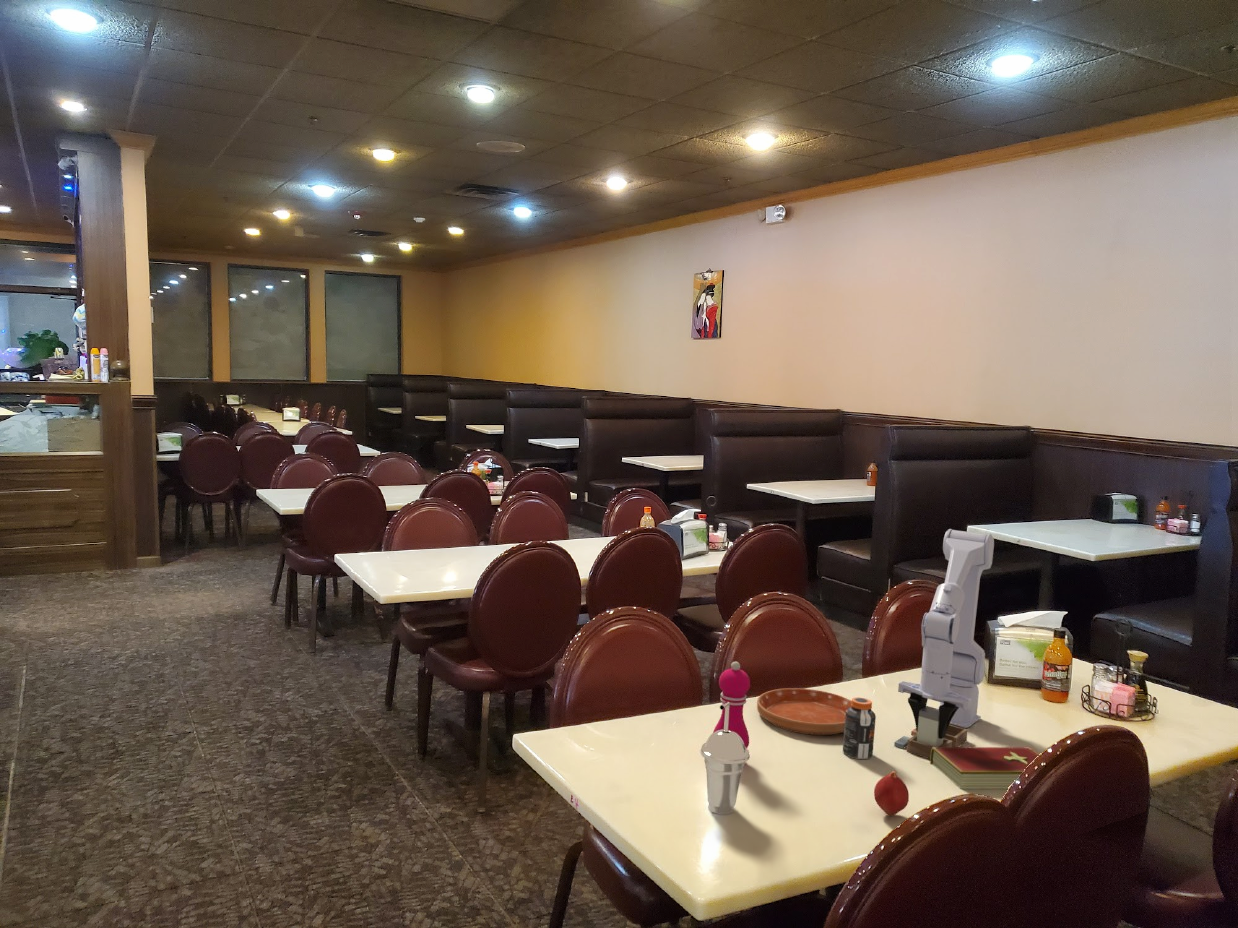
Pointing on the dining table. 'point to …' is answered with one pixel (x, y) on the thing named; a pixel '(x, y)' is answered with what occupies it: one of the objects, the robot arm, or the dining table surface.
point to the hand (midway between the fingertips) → (930, 733)
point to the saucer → (804, 710)
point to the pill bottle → (859, 729)
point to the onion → (891, 794)
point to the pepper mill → (734, 700)
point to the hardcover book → (982, 765)
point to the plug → (929, 727)
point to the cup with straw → (724, 766)
